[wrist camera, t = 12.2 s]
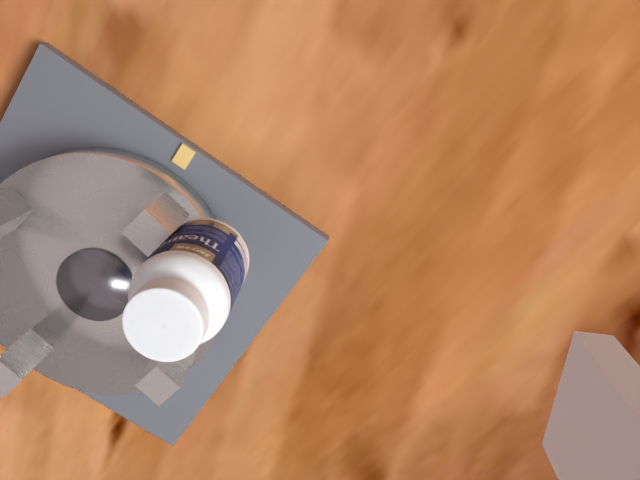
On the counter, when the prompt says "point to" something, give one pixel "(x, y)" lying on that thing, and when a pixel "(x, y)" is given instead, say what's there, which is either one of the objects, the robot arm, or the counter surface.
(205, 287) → the pill bottle
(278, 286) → the grey square plate
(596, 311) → the counter surface
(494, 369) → the counter surface
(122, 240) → the grey shallow round piece
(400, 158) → the counter surface
